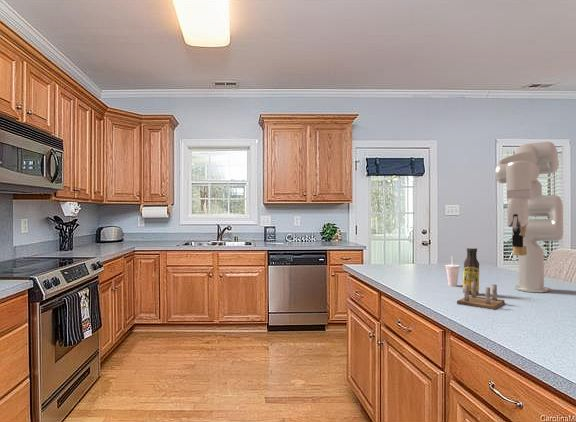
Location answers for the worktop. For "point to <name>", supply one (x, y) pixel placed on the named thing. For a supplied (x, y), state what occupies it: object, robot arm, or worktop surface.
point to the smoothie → (452, 273)
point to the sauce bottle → (471, 270)
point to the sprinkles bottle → (523, 250)
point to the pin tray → (481, 298)
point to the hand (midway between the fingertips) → (519, 245)
